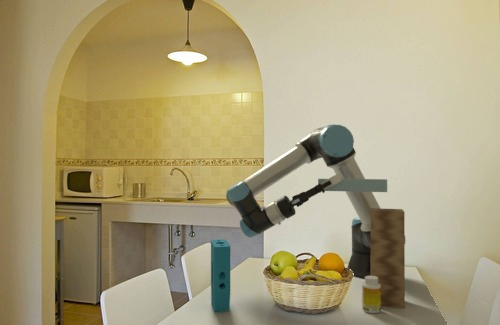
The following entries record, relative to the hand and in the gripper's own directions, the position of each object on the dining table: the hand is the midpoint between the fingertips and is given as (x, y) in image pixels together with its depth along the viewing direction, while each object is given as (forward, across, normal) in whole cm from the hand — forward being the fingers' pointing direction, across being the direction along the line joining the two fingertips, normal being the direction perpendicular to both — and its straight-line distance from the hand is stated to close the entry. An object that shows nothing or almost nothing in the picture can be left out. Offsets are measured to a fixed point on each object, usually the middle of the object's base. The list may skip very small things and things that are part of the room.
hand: (340, 176), depth 134 cm
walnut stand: (-7, 0, -43) cm, 43 cm away
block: (-51, +19, -18) cm, 57 cm away
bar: (+1, 0, -6) cm, 6 cm away
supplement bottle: (-12, +9, -40) cm, 43 cm away
